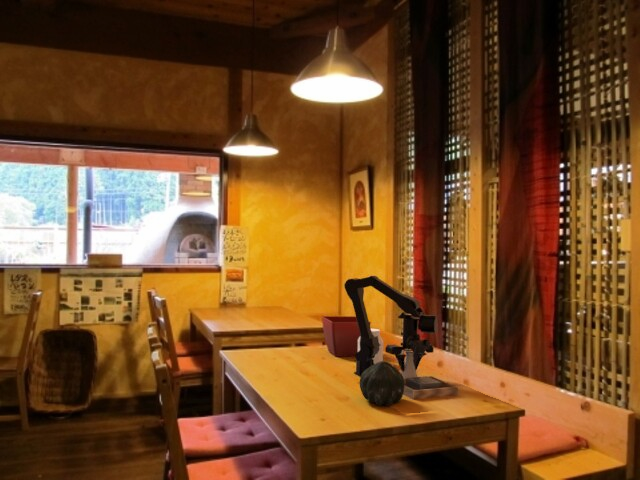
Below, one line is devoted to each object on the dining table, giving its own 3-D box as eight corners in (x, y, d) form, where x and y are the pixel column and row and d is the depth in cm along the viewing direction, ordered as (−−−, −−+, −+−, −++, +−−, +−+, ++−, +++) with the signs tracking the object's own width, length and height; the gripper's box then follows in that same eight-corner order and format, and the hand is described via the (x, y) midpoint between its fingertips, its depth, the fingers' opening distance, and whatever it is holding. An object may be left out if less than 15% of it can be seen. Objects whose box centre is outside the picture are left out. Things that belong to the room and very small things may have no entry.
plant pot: (370, 357, 250) (371, 321, 250) (331, 358, 245) (332, 322, 245) (356, 349, 268) (357, 316, 269) (320, 350, 263) (321, 316, 264)
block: (419, 395, 185) (419, 384, 185) (405, 388, 194) (405, 377, 194) (440, 393, 189) (441, 382, 189) (426, 387, 197) (426, 376, 197)
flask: (419, 376, 210) (420, 351, 210) (416, 381, 203) (417, 354, 203) (401, 374, 212) (402, 349, 212) (397, 378, 205) (398, 352, 205)
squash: (379, 377, 190) (366, 349, 183) (417, 386, 181) (404, 358, 173) (361, 409, 182) (345, 382, 174) (399, 421, 173) (384, 393, 165)
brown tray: (413, 401, 180) (413, 390, 180) (389, 389, 195) (390, 379, 195) (457, 397, 187) (457, 387, 187) (431, 385, 202) (431, 376, 202)
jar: (385, 365, 233) (386, 331, 234) (365, 367, 230) (367, 332, 230) (373, 360, 244) (374, 327, 244) (354, 361, 241) (355, 328, 241)
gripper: (400, 335, 197) (399, 377, 197) (442, 333, 204) (441, 374, 204) (385, 330, 207) (384, 370, 207) (426, 328, 214) (424, 367, 214)
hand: (408, 370), depth 208 cm, fingers closed on flask, 5 cm apart
